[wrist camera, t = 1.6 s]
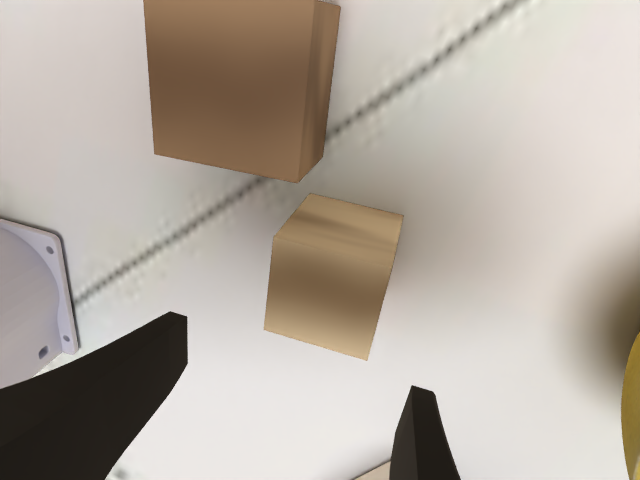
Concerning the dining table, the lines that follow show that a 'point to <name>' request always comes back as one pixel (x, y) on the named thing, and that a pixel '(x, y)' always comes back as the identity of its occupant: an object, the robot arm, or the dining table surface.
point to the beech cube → (331, 274)
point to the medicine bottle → (377, 473)
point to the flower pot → (632, 412)
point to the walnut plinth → (241, 82)
